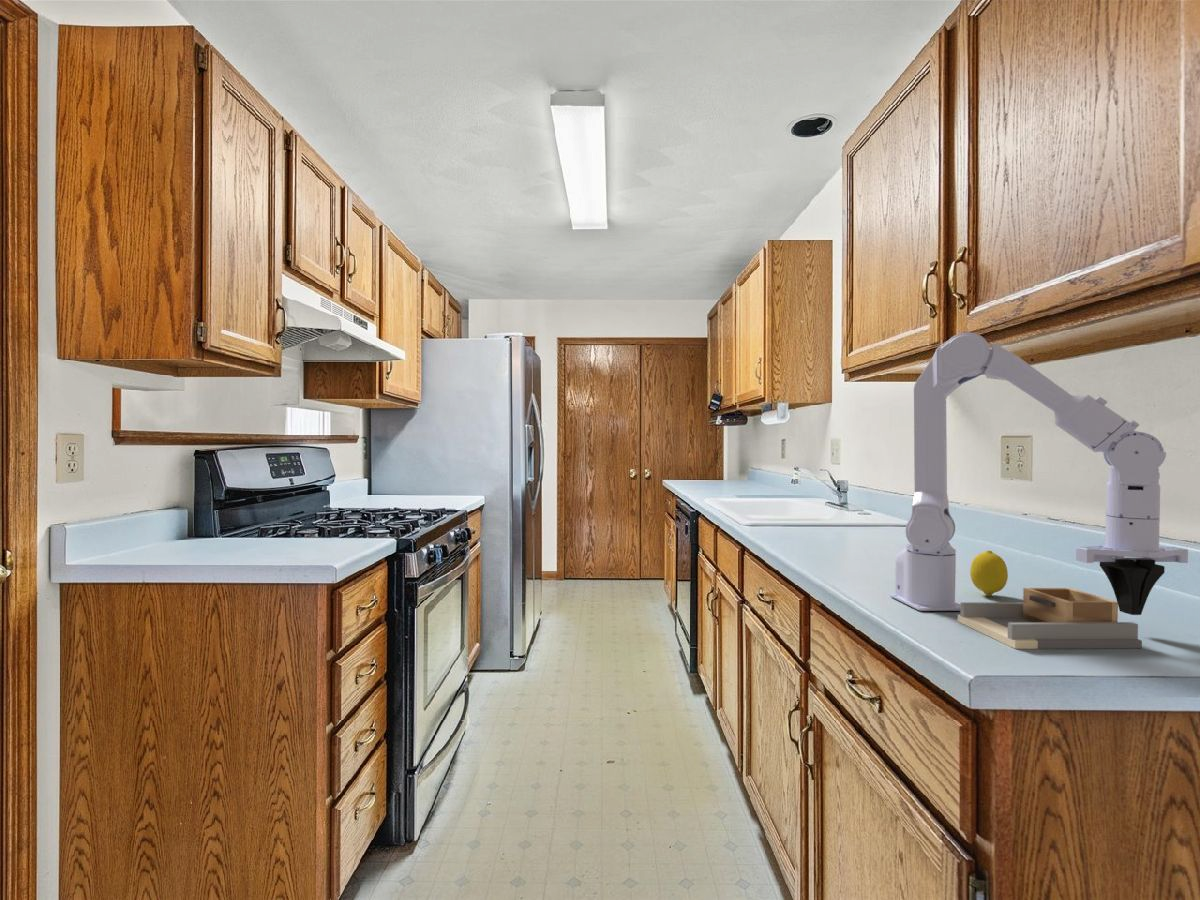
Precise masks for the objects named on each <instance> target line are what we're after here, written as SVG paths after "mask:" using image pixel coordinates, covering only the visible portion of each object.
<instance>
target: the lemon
mask: <svg viewBox="0 0 1200 900" xmlns="http://www.w3.org/2000/svg"><path fill="white" fill-rule="evenodd" d="M969 571H970V572H969V575H970V580H971V582H972V584H973V585H974V586H975V588H976V589H978V590H979V591H981V592H983V593H984V594H985V596H988V597H992V595H994V593H998V592H1000V591H1001V590H1003V589H1004V588H1005V586H1006V585H1007V583H1008V576H1009V572H1008V568H1007V564H1006V562H1005V561H1004V559H1003V558H1002V557H1001V556H1000V555H999V554H997V553H994V552H993V550H989V549H988V550H986V551H984V552H982V553H979V554H977V555H976V556H975V557H973V560H972V562H971V565H970V570H969Z"/></svg>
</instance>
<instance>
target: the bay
mask: <svg viewBox="0 0 1200 900" xmlns="http://www.w3.org/2000/svg"><path fill="white" fill-rule="evenodd" d="M959 604H960V611H959V612H960V614H957V622H958V623H960V624H962V625H964V626H967V627H969V628H971V629H973V630H975V631H977V632H979V633H981V634H983V635H986V637H987V636H988V637H990V638H992V639H994V640H996V641H998V642H1001V643H1002V644H1004V645H1006V646H1008V647H1011V648H1013V649H1016V650H1017V649H1019V650H1020V649H1021V650H1022V649H1024V650H1027V649H1031V650H1032V649H1034V650H1035V649H1040V650H1041V649H1045V650H1046V649H1049V650H1050V649H1051V650H1052V649H1054V650H1055V649H1056V650H1059V649H1142V648H1143V640H1141V639H1139V624H1138V623H1137V622H1133V621H1132V622H1131V621H1125V622H1123V621H1120V622H1119V621H1118V622H1032V621H1030V620H1027V619H1025V618H1023V601H1022V602H1021V601H1019V602H1017V601H1016V602H1009V601H1008V602H1005V601H1004V602H1003V601H1002V602H997V601H996V602H993V601H991V602H980V601H979V602H978V601H977V602H975V601H974V602H960V603H959Z"/></svg>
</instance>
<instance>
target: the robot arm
mask: <svg viewBox="0 0 1200 900" xmlns="http://www.w3.org/2000/svg"><path fill="white" fill-rule="evenodd" d="M990 345H991V348H990V346H989V343H988V341H987V340H986V339H985V338H984V337H983V336H982V335H980V334H979V333H975V332H969V331H968V332H967V331H966V332H961V333H960V332H959V333H958V334H955V335H953V336H951V337H950V338H949V339H948V340H946V341H945V342H944V343H942V344H941V345H940V346H938V347H937V348H935V352H934V353H933V356H932V357H931V359H930V361H929V362H928V363H927V365H926V367H924V369H923V371H922V372H921V373H920V376H919V377H918V378H917V379H916V381H915V382H914V386H913V447H914V448H913V453H914V455H913V456H914V457H913V458H914V459H913V460H914V462H913V463H914V464H913V465H914V466H913V468H914V472H913V473H914V474H913V476H914V477H913V478H914V481H913V482H914V494H913V499H912V504H911V515H910V518H909V520H908V522H906V526H905V536H906V539H907V541H908V542H909V543H908V544H906V545H905V548H903V549H902V550H900V552H899V553H898V554H897V556H896V559H895V569H894V570H895V574H894V575H895V576H894V577H895V579H894V582H895V583H894V584H895V585H894V587H895V588H894V589H895V590H894V592H893V593H892V592H891V593H890V594H889V597H891V598H893V599H895V600H897V601H899V602H900V603H903V604H905V605H907V606H910V607H912V608H913V609H916V610H917V611H922V612H924V611H925V612H927V611H928V612H929V611H931V612H932V611H933V612H934V611H935V612H937V611H938V612H942V611H943V612H944V611H949V612H952V611H953V612H955V611H957V612H958V611H959V612H960V603H958V602H956V573H957V572H956V571H957V570H956V564H957V563H956V562H957V560H956V559H957V558H956V557H957V555H956V553H957V550H956V549H955V548H954V547H953V546H952V545H951V543H950V542H949V541H951V540H952V538H953V537H954V536H955V533H956V524H955V520H954V519H953V517H952V515H951V513H950V508H949V507H950V506H949V505H950V504H949V495H948V469H947V468H948V467H947V466H948V463H947V462H948V461H947V458H948V457H947V456H948V455H947V452H948V448H947V444H948V443H947V438H948V437H947V436H948V435H947V398H948V397H949V396H950V395H951V394H952V393H953V392H954V391H956V390H958V389H959V387H960V386H961V385H963V384H964V383H967V382H969V381H971V380H973V379H976V378H978V377H980V376H982V375H983V374H985V377H986V379H992V380H993V379H994V380H1000V381H1007V382H1009V383H1010V384H1011V385H1013V386H1015V387H1017V389H1020V390H1021V391H1022V392H1024V393H1025V394H1027V395H1028V396H1030V397H1031V398H1033V399H1034V400H1036V401H1038V402H1039V403H1041V404H1042V405H1043V406H1045V407H1046V408H1048V409H1050V410H1051V411H1053V412H1054V413H1053V414H1054V423H1055V426H1057V427H1059V428H1060V429H1061V430H1062V431H1064V432H1066V433H1067V434H1069V436H1071V437H1072V438H1074V439H1075V440H1076V441H1078V442H1079V443H1081V444H1082V445H1084V446H1085V447H1087V448H1088V449H1089V450H1091V451H1092V452H1094V453H1099V452H1101V453H1102V454H1103V459H1104V461H1105V463H1106V464H1108V479H1107V480H1108V481H1107V482H1106V485H1105V486H1106V487H1105V488H1106V489H1105V491H1106V492H1105V529H1104V530H1105V533H1104V534H1105V536H1104V537H1105V539H1104V541H1105V543H1104V544H1101V545H1089V546H1076V547H1075V561H1079V562H1083V563H1086V564H1094V563H1099V566H1100V568H1101V569H1102V571H1103V573H1104V574H1105V576H1106V577H1107V579H1108V581H1109V583H1110V585H1111V588H1112V590H1113V592H1114V596H1115V599H1116V602H1118V611H1119V612H1120V613H1125V614H1128V615H1132V616H1141V615H1142V613H1143V610H1144V609H1145V608H1144V607H1145V606H1146V605H1145V604H1146V602H1147V600H1148V598H1149V595H1150V593H1151V592H1152V589H1153V587H1154V586H1155V585H1156V583H1157V582H1158V581H1159V580H1160V578H1161V577H1162V576H1163V575H1165V569H1166V567H1165V565H1161V564H1156V563H1179V564H1188V563H1189V549H1187V548H1183V547H1177V546H1160V520H1161V519H1160V518H1161V516H1160V514H1161V485H1160V482H1159V480H1160V478H1161V477H1160V476H1161V474H1160V468H1159V467H1161V466H1162V464H1163V463H1164V461H1165V460H1166V456H1167V452H1166V451H1165V450H1164V447H1163V445H1162V443H1161V441H1160V440H1159V439H1158V438H1157V437H1156V436H1154V435H1152V434H1149V433H1148V432H1147V433H1146V432H1142V431H1138V430H1137V431H1136V429H1137V428H1138V427H1140V424H1139V423H1138V422H1137V421H1136V420H1130V421H1128V420H1127V419H1126V418H1124V417H1122V416H1121V415H1120V414H1118V413H1117V412H1115V411H1114V410H1112V409H1111V408H1110V407H1108V406H1106V405H1107V403H1108V401H1107V400H1106V399H1104V398H1103V397H1102V396H1098V397H1096V398H1094V397H1093V396H1091V395H1090V394H1080V395H1079V394H1078V395H1077V394H1076V395H1073V394H1070V393H1069V392H1068V391H1066V390H1065V389H1063V388H1062V387H1060V386H1059V385H1058V384H1057V383H1055V382H1054V381H1052V380H1051V379H1050V378H1048V377H1047V376H1045V375H1044V374H1043V373H1042V372H1040V371H1039V370H1037V369H1036V368H1035V367H1033V366H1032V365H1031V364H1029V363H1028V362H1026V361H1025V360H1024V359H1022V358H1021V357H1020V356H1018V355H1016V354H1015V353H1013V352H1012V351H1010V350H1008V349H1006V348H1004V347H1002V346H1001V345H998V344H997V343H994V342H992V341H990Z"/></svg>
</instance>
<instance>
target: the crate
mask: <svg viewBox="0 0 1200 900" xmlns="http://www.w3.org/2000/svg"><path fill="white" fill-rule="evenodd" d="M1022 593H1023V595H1022V599H1023V600H1022V602H1023V618H1025V619H1027V620H1030V621H1032V622H1119V621H1118V618H1119V617H1118V616H1119V615H1118V614H1119V613H1118V611H1119V606H1118V602H1117V601H1115V600H1111V599H1108V598H1104V597H1102V596H1097V595H1095V594H1091V593H1088V592H1084V591H1081V590H1078V589H1074V588H1071V587H1023V591H1022Z"/></svg>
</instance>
